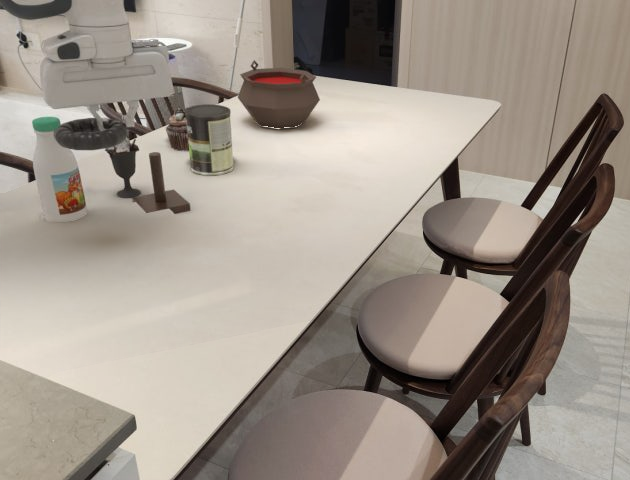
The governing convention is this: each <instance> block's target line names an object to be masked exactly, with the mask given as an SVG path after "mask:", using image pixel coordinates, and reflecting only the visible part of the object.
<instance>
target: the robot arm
mask: <svg viewBox="0 0 630 480" xmlns="http://www.w3.org/2000/svg"><path fill="white" fill-rule="evenodd" d="M124 3H125V0H0V7H2V9H3V10H5V11H6V12H7V13H8V14H10V15H11V16H14V17H16V18H19V19H22V20H27V21H43V20H46V19H49V18H52V17H56V16H64V17H65V18H66V19H67V22H68V28H69V29H68V30H65V31H63V32H61V33H58V34H56V35H53V36H51V37H47V38H45V39H43V40H42V41H41V42H40V49H41V53H42V54H43V55H44V56H45V57H44V58H43V59H42V60H41V62H40V64H39V65H40V66H39V78H40V80H39V81H40V88H41V96H42V99H43V101H44V103H45V104H46V105H47V106H48V107H50V108H51V109H53V110H63V109H69V108H70V109H71V108H78V107H86V109H87V111H88V112H89V113H90V114H91V115H92V117H93V118H95V119H97V125H98V129H99V130H100V131H104V130H107V129H110V127H109V126H108V125H109V121H108V120H107V119H106V118H107V117H101V115H99V113H98V112H99V111H100V105H107V104H115V103H124V102H126V104H127V105H128V106H129V107H128V109H127V112H126V114H123V115H121V119H122V124H123V125H125V126H126V128H127V129H128V128H134V127H135V126H136V124H135V116H136V114H137V112H138V109H139V107H140V104H139V101H141V100H142V101H143V100H151V99H158V98H166V97H167V98H168V97H170V96H171V95H172V93H173V92H174V84H173V78H172V75H171V71H170V68H169V61H170V54H169V49H168V46H167V45H166V44H165V43H164V42H163V41H160V40H159V39H155V38H151V39H147V40H146V39H132V35H131V34H132V33H131V27H130V20H129V18H128V15H127V13H126V9H125V4H124Z"/></svg>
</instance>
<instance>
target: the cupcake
mask: <svg viewBox="0 0 630 480" xmlns="http://www.w3.org/2000/svg"><path fill="white" fill-rule="evenodd" d="M187 108H188V107H186V108H185V109H187ZM185 109H184V108H182V107H180V106H178V109H177V110H176V111H174V112H173V113H174V114H172V116H170V117H169V118H168V119H167V123H168V125H167V126H166V127H165V131H166V132H165V133H166V134H167V139H168V141H169V145H170V147H171V148H172V149H173V148H174V149H173V150H175V149H178V150H177V151H182V150H184V151H185V150H187V151H189V143H188V134H187V124H186V115H185Z"/></svg>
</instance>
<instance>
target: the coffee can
mask: <svg viewBox="0 0 630 480" xmlns="http://www.w3.org/2000/svg"><path fill="white" fill-rule="evenodd" d="M186 108H187V109H186ZM186 108H185V109H184V110H185V115H186V124H187V134H188V143H189V150H188V151H189V152H188V153H189V162H190V170H191V172H193V173H194V174H197V175H201V176H221V175H225V174H228V173H230V172H232V171H233V170H234V169H235V166H234V155H233V154H234V153H233V140H232V124H231V122H232V121H231V113H232V112H231V109H230V108H229V107H227V106H224V105H220V104H212V103H211V104H208V103H207V104H196V105H192V106H189V107H186Z"/></svg>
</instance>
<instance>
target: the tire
mask: <svg viewBox="0 0 630 480" xmlns="http://www.w3.org/2000/svg"><path fill="white" fill-rule="evenodd" d="M105 118H106V119H107V120H108V121H109V125H108V126H109V127H110V129H107V130H104V131H100V130H99V129H98V125H97V119H95V117H86V118H78V119H72V120H69V121H66V122H63V123H61V125H60V126H59V127H58V128H56V129H55V131H54V138H55V140H56V141H57V142H58V144H59V145H60V146H62V147H64V148H68V149H71V150H74V151H98V150H105V149H106V148H110V147H113V146H115V145H118V144H121V143H122V142H123V141H124V140H125V139H126V137H127V138H128V135H129V130H128V128H126V126H125V125H123V122H121V121H120V120H118V119H112V118H108V117H105Z"/></svg>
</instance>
